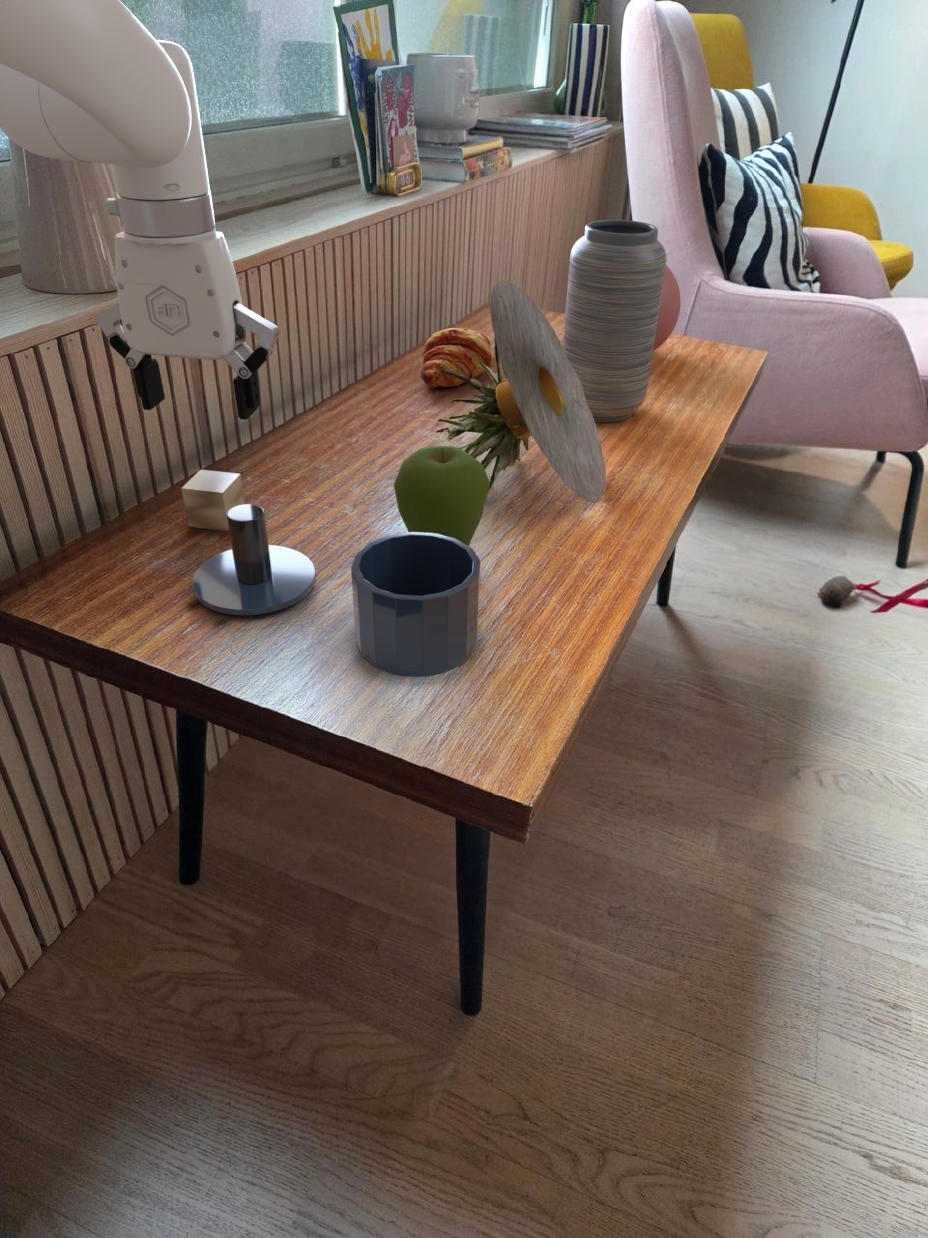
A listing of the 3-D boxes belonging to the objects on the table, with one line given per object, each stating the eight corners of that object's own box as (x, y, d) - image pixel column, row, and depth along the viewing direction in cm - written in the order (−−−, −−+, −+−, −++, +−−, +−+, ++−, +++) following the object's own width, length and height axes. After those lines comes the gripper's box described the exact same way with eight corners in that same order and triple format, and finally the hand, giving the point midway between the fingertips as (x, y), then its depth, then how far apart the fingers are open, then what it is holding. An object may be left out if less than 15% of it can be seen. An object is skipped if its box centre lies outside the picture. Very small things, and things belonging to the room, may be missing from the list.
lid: (199, 630, 73) (184, 553, 69) (189, 565, 81) (175, 492, 77) (327, 608, 76) (320, 533, 72) (304, 548, 85) (297, 477, 80)
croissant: (466, 369, 137) (445, 321, 134) (521, 348, 132) (500, 297, 129) (411, 413, 121) (386, 359, 118) (471, 390, 115) (446, 333, 112)
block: (188, 526, 87) (181, 488, 85) (206, 507, 91) (200, 469, 88) (228, 531, 87) (222, 492, 84) (246, 511, 90) (240, 473, 88)
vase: (545, 397, 119) (559, 218, 105) (622, 391, 121) (645, 215, 108) (575, 430, 110) (595, 238, 96) (658, 423, 112) (688, 235, 99)
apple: (380, 563, 82) (375, 453, 76) (427, 527, 88) (426, 421, 82) (457, 590, 79) (459, 477, 72) (501, 550, 85) (506, 442, 78)
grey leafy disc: (535, 478, 114) (410, 332, 104) (647, 410, 104) (520, 241, 94) (496, 598, 96) (341, 436, 86) (627, 531, 86) (468, 338, 76)
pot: (373, 686, 68) (369, 609, 63) (345, 615, 75) (340, 541, 71) (494, 663, 70) (498, 586, 66) (455, 596, 78) (456, 524, 74)
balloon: (566, 379, 125) (577, 268, 116) (575, 337, 141) (585, 237, 132) (673, 388, 123) (692, 276, 114) (670, 344, 139) (686, 243, 130)
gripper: (49, 219, 70) (97, 416, 80) (247, 232, 68) (272, 433, 78) (97, 202, 76) (137, 387, 86) (281, 213, 74) (300, 403, 84)
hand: (201, 409), depth 82 cm, fingers open, 9 cm apart
